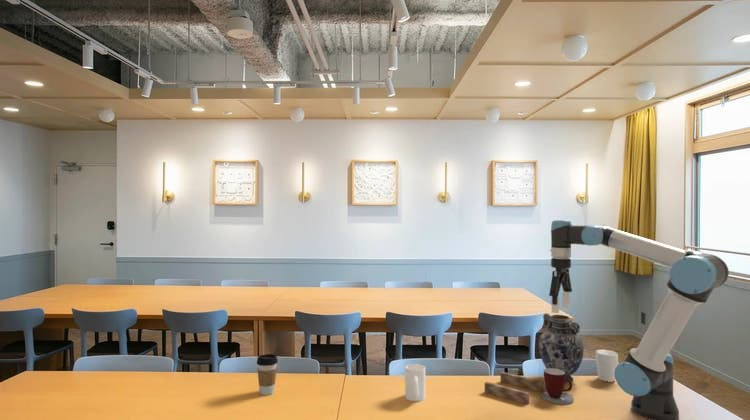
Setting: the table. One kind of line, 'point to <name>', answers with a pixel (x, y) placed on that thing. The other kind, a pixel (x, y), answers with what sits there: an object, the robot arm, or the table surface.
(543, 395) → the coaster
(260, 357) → the coffee cup
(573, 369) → the decorative vase
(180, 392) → the table surface
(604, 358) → the cup
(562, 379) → the mug
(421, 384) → the mug
